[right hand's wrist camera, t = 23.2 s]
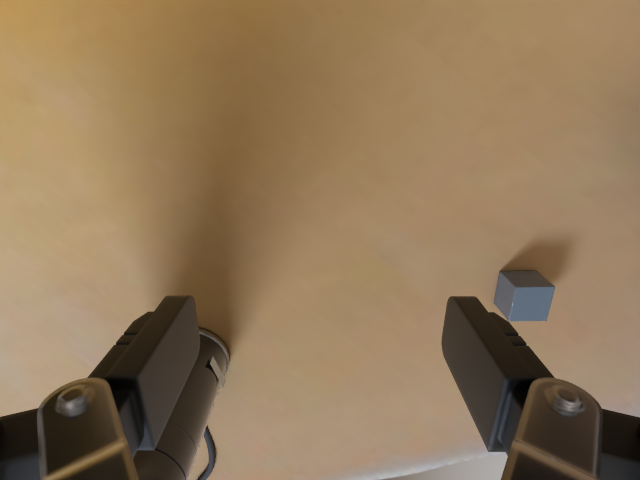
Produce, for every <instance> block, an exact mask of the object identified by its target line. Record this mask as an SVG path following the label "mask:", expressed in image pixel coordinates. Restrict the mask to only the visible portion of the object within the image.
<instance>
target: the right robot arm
mask: <svg viewBox="0 0 640 480" xmlns="http://www.w3.org/2000/svg"><path fill="white" fill-rule="evenodd" d="M442 351H443V355H444V358H445V360H446V362H447V365H448V367H449V369H450V371H451V373H452V375H453V377H454V379H455V382H456V384H457V386H458V388H459V390H460V392H461V394H462V396H463V399H464V401H465V403H466V405H467V407H468V409H469V411H470V414H471V416H472V418H473V420H474V422H475V424H476V426H477V428H478V431H479V433H480V435H481V437H482V439H483V441H484V443H485V445H486V448H487V450H488V452H506V453H507V455H508V458H507V462H506V465H505V468H504V471H503V475H502V478H501V480H640V418H639V417H635V416H631V415H626V414H622V413H618V412H613V411H609V410H605V409H602V408H601V406H600V405H599V403H598V402H597V401H596V400H595V399H594V398H593V397H592V396H591V395H590V394H589V393H587V392H586V391H585V390H583V389H582V388H580V387H578V386H576V385H574V384H572V383H569V382H567V381H564V380H560V379H556V378H554V376H553V375H552V374H551V373H550V372H549V370H548V369H547V368H546V367H545V366H544V364H543V363H542V362H541V361H540V359H539V358H538V357H537V356H536V355H535V353H534V352H533V351H532V350H531V349H530V347H529V346H526V342H525V341H524V340H523V339H522V338H521V336H518V333H517V332H516V330H515V329H514V328H513V327H512V325H511V324H510V323H509V322H508V321H506V320H505V319H503V318H502V317H500V316H499V315H497V314H496V313H494V312H488V311H487V310H486V309H485V308H484V306H483V305H482V304H481V302H480V301H479V300H478V299H477V297H474V296H451V297H449V299H448V302H447V307H446V314H445V320H444V327H443V334H442ZM228 364H229V352H228V349H227V347H226V346H225V344H224V343H223V341H222V340H221V339H220V338H219V337H217V336H216V335H215V334H213V333H211V332H209V331H207V330H204V329H201V328H199V327H198V321H197V314H196V307H195V301H194V298H193V297H192V296H166V297H165V298H164V299H163V301H162V302H161V303H160V305H159V306H158V307H157V308H156V310H155V311H154V312H147V313H146V314H144V315H143V316H141V317H140V318H138V319H137V320H135V321H133V323H132V324H131V325H130V326H129V328H128V329H127V330H126V331H125V332H124V335H122V336H121V337H120V339H119V340H118V341H117V342H116V345H114V346H113V347H112V348H111V350H110V351H109V352H108V353H107V355H106V356H105V357H104V358H103V359H102V361H101V362H100V363H99V364H98V366H97V367H96V368H95V369H94V370H93V372H92V373H91V374H90V375H89V377H88V378H84V379H80V380H76V381H73V382H71V383H68V384H66V385H64V386H62V387H60V388H58V389H57V390H55V391H54V392H53V393H51V394H50V395H49V396H48V397H47V398H46V399H45V400H44V401H43V402H42V403H41V405H40V406H39V408H37V409H33V410H29V411H24V412H20V413H16V414H11V415H7V416H3V417H0V480H188V479H189V476H190V473H191V470H192V467H193V464H194V461H195V458H196V455H197V452H198V449H199V446H200V443H201V440H202V438H203V435H204V437H205V440H206V443H207V447H208V452H209V465H208V468H207V470H206V471H205V473H204V474H203V475H202V476H201V477H200V479H199V480H206V479H207V478H208V476H209V475H210V474H211V472H212V470H213V468H214V463H215V452H214V445H213V441H212V438H211V435H210V433H209V431H208V429H207V427H206V426H207V423H208V420H209V417H210V414H211V411H212V409H213V406H214V403H215V400H216V397H217V394H218V391H219V388H220V386H221V385H222V387H223V386H224V383H225V378H224V375H225V373H226V371H227V368H228Z"/></svg>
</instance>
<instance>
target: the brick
mask: <svg viewBox="0 0 640 480" xmlns="http://www.w3.org/2000/svg"><path fill="white" fill-rule="evenodd" d="M554 290H555V286H554V285H553V284H551V283H550V282H549V281H548V280H547V279H545V278H544V277H543V276H542V275H541V274H539V273H538V272H537V271H500V273H499V278H498V283H497V289H496V294H495V300H494V304H495V305H496V306H497V307H498V309H499V310H500V311H501V312H502V314H503V315H504V316H505V317H506V318H507V320H508V321H547V317H548V313H549V309H550V306H551V302H552V298H553V294H554Z"/></svg>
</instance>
